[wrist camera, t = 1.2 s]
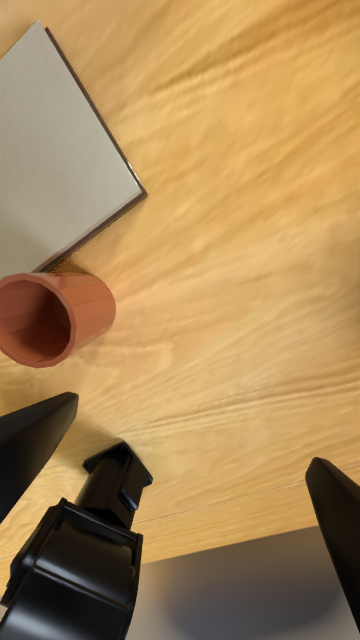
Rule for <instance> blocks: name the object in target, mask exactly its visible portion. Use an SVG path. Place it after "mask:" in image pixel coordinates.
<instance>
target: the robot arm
mask: <svg viewBox="0 0 360 640" xmlns="http://www.w3.org/2000/svg"><path fill="white" fill-rule="evenodd" d="M78 400H79V396H78V394H76V393H72V392H65V393H62V394H60V395H57V396H54V397H52V398H49V399H46V400H44V401H41V402H39V403H36V404H33V405H31V406H28V407H25V408H23V409H20V410H17V411H15V412H12V413H9V414H7V415H4V416H1V417H0V524H1V523H2V521H3V520H4V519H5V517H6V516H7V515H8V513H9V512H10V511H11V509H12V508H13V507H14V505H15V504H16V503H17V501H18V500H19V499H20V497H21V496H22V495H23V493H24V492H25V491H26V490H27V488H28V487H29V486H30V484H31V483H32V482H33V480H34V479H35V478H36V476H37V475H38V474H39V472H40V471H41V470H42V468H43V467H44V466H45V464H46V463H47V462H48V460H49V459H50V457H51V456H52V454H53V452H54V451H55V449H56V448H57V446H58V444H59V443H60V441H61V440H62V438H63V436H64V435H65V433H66V432H67V430H68V428H69V427H70V425H71V424H72V422H73V420H74V419H75V416H76V414H77V407H78ZM83 467H84V468H85V469H86V471H87V472H88V473H89V474H90V475H89V476H88V478H87V480H86V482H85V484H84V486H83V488H82V490H81V492H80V493H79V495H78V497H77V499H76V501H75V503H74V504H73V503H71V502H68V501H67V499H65V498H63V497H62V498H61V500H60V502H59V503H58V505H56V506H51V507H49V508H48V510H47V512H46V513H45V515H44V516H43V518H42V519H41V521H40V523H39V524H38V526H37V527H36V529H35V530H34V531H33V533H32V534H31V536H30V537H29V538H28V540H27V541H26V542H25V544H24V545H23V547H22V548H21V549H20V551H19V552H18V553H17V555H16V556H15V558H14V559H13V561H12V563H11V565H10V579H9V581H8V583H7V585H6V587H8V588H7V589H6V591H5V593H4V595H3V597H2V599H1V601H0V605H2V606H5V607H7V608H8V609H7V611H6V613H5V615H4V616H3V618H2V621H1V622H0V640H125V638H126V635H127V632H128V629H129V626H130V623H131V619H132V615H133V611H134V607H135V602H136V597H137V591H138V583H139V574H140V564H141V554H142V544H143V535H142V534H140V533H138V534H137V533H135V532H132V531H130V530H131V526H132V522H133V518H134V514H135V510H137V509H138V506H139V502H140V498H141V494H142V490H143V488H144V487H146V486H148V485H151V484H152V481H153V478H152V476H151V475H150V473H149V472H148V471H147V470H146V468H145V467H144V466H143V464H142V463H141V462H140V460H139V459H138V458H137V457H136V455H135V454H134V453H133V451H132V450H131V449H130V447H129V446H128V445H127V444H126V443H125V442H121V443H119V444H117V445H115V446H112V447H110V448H108V449H106V450H104V451H102V452H100V453H98V454H96V455H94V456H92V457H90V458H88V459H86V460H85V461H84V463H83ZM305 479H306V484H307V487H308V490H309V494H310V497H311V500H312V503H313V507H314V510H315V513H316V517H317V520H318V523H319V527H320V530H321V532H322V536H323V538H324V541H325V544H326V547H327V549H328V552H329V554H330V557H331V559H332V562H333V565H334V567H335V570H336V573H337V575H338V578H339V580H340V583H341V586H342V588H343V591H344V593H345V596H346V599H347V601H348V604H349V607H350V609H351V612H352V614H353V617H354V619H355V622H356V625H357V628H358V630H359V633H360V486H359V485H357V484H356V483H355V482H354V481H353V480H351V479H350V478H349V477H348V476H347V475H345V474H344V473H343V472H342V471H341V470H339V469H338V468H337V467H336V466H334V465H333V464H332V463H331V462H330V461H328V460H326V459H323V458H319V457H314V458H313V459H312V461H311V463H310V465H309V467H308V469H307V471H306V475H305Z"/></svg>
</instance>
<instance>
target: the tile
mask: <svg viewBox="0 0 360 640" xmlns="http://www.w3.org/2000/svg"><path fill="white" fill-rule="evenodd" d="M147 196H148V194H147V192H146V190H145V189H144V187H143V185H142V184H141V182H140V180H139V179H138V177H137V175H136V174H135V172H134V170H133V169H132V167H131V165H130V164H129V162H128V160H127V159H126V157H125V155H124V154H123V152H122V150H121V149H120V147H119V145H118V144H117V142H116V140H115V139H114V137H113V135H112V134H111V132H110V130H109V129H108V127H107V125H106V123H105V122H104V120H103V118H102V117H101V115H100V113H99V112H98V110H97V108H96V107H95V105H94V103H93V102H92V100H91V98H90V97H89V95H88V93H87V92H86V90H85V88H84V87H83V85H82V83H81V82H80V80H79V78H78V77H77V75H76V73H75V72H74V70H73V68H72V67H71V65H70V63H69V62H68V60H67V58H66V56H65V55H64V53H63V51H62V50H61V48H60V46H59V45H58V43H57V41H56V40H55V38H54V36H53V35H52V33H51V31H50V30H49V28H48V27H46V28H45V29H44V28H43V26H42V25H41V23H40V22H39V20H38V19H37V20H36V21H35V23H34V24H33V25H32V26H31V27H30V28H29V29H28V30H27V31H26V32H25V33H24V35H23V36H22V37H21V38H20V39H19V40H18V41H17V42H16V43H15V44H14V46H13V47H12V48H11V49H10V50H9V51H8V52H7V53H6V54H5V55H4V57H3V58H2V59H1V60H0V280H1V279H2V278H3V277H5V276H9V275H14V274H19V273H47V272H48V271H50V270H51V269H52V268H54V267H55V266H56V265H58V264H59V263H60V262H62V261H63V260H64V259H66V258H67V257H68V256H70V255H71V254H72V253H73V252H75V251H76V250H77V249H79V248H80V247H81V246H83V245H84V244H85V243H87V242H88V241H89V240H91V239H92V238H93V237H95V236H96V235H97V234H99V233H100V232H101V231H103V230H104V229H105V228H106V227H108V226H109V225H110V224H112V223H113V222H114V221H116V220H117V219H118V218H120V217H121V216H122V215H124V214H125V213H126V212H128V211H129V210H130V209H132V208H133V207H134V206H136V205H137V204H138V203H139V202H141V201H142V200H143V199H145V198H146V197H147Z"/></svg>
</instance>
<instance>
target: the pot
mask: <svg viewBox="0 0 360 640" xmlns="http://www.w3.org/2000/svg"><path fill="white" fill-rule="evenodd" d="M115 314H116V305H115V300H114V297H113V295H112V293H111V291H110V289H109V288H108V287H107V286H106V285H105V284H104V282H102V281H101V280H100V279H98V278H97V277H95V276H92V275H89V274H85V273H77V272H72V273H19V274H14V275H9V276H5V277H3V278H2V279H1V280H0V350H1V351H2V352H3V353H4V354H5V355H6V356H8V357H9V358H11V359H13V360H14V361H16V362H17V363H19V364H21V365H25V366H29V367H33V368H44V367H52V366H55V365H57V364H58V363H60V362H61V361H63V360H64V359H66V358H68V357H69V356H71V355H72V354H74V353H75V352H77V351H78V350H80V349H81V348H83V347H84V346H86V345H87V344H89V343H90V342H92V341H93V340H95V339H96V338H98V337H99V336H101V335H102V334H104V333H105V332H106V331H107V330H108V329H109V328H110V327H111V325H112V323H113V321H114V319H115Z"/></svg>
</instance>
